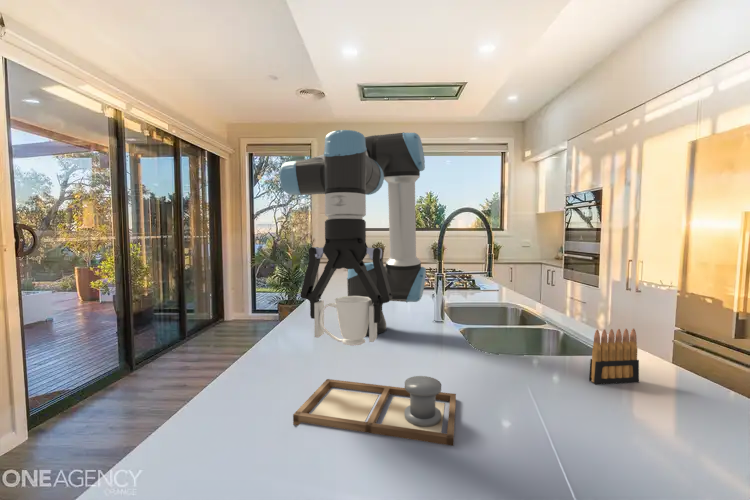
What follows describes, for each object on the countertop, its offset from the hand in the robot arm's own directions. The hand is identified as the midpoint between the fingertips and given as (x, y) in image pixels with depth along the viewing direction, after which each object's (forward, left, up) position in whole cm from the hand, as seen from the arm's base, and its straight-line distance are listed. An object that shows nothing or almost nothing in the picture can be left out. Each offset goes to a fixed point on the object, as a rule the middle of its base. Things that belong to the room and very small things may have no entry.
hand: (345, 337), depth 64 cm
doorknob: (0, +15, -13) cm, 19 cm away
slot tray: (0, +7, -14) cm, 15 cm away
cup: (0, 0, -1) cm, 1 cm away
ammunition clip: (-27, +54, -14) cm, 62 cm away
